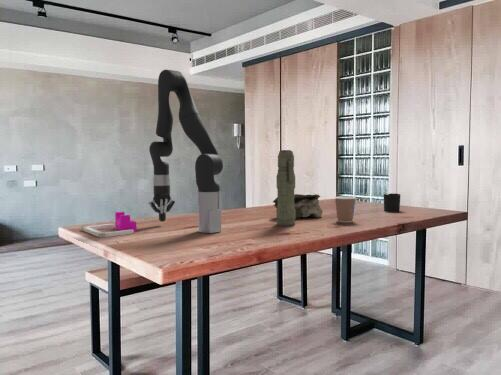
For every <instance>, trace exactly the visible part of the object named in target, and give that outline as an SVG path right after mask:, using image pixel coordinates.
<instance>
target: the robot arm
mask: <svg viewBox="0 0 501 375" xmlns="http://www.w3.org/2000/svg"><path fill="white" fill-rule="evenodd" d="M171 92H172V93H175V95H176V97H177V99H178V100H177V101H178V102H179V110H178V122H179V123H180V125H181V128H182V130H183V132H184V133H185V135H186V136H187V138H188V139H189V140H190V141H191V142H192V143H193V144H194V145H195V146H196V147H197V149H198V150H199V152H200V154H199V155H198V156H197V158H196V160H195V166H194V170H195V172H194V173H195V183H196V187H197V189H198V190H197V193H198V194H197V196H198V198H197V200H198V201H197V203H198V206H197V207H198V208H197V209H198V213H197V214H198V215H197V216H198V233H199V232H200V233H204V234H206V233H207V234H214V233H220V232H222V210H221V190H220V189H221V187H220V184H218V183H217V182H216V181H215V176H217V175H219V174H221V173H222V171H223V168H224V163H223V159H222V157H221V155H220V154H219V152H218V150H217V148H216V147H215V144H214V143H213V142H212V139H211V137H210V135H209V133H208V130H207V128H206V126H205V123H204V122H203V119H202V116H201V115H200V112H199V111H198V108H197V106H196V103H195V101H194V99H193V96H192V93H191V91H190V87H189V84H188V81H187V80H186V77H185V75H184V73H182V72H181V71H179V70H172V69H163V70H162V71H160V73H159V75H158V79H157V100H158V102H157V103H158V105H157V107H158V110H157V121H156V129H155V134H156V136H157V137H160V138H162V139H163V140H162V141H157V140H155V141H152V142H151V143H150V146H149V148H148V149H149V154H150V157H151V161H152V165H153V180H152V181H153V182H152V183H153V198H152V200H151V201H149V202H148V205H149V206H150V207H151V208H152V210H153V212H154V213H157V214H158V221H160V222H161V223H163V222H165V221H166V219H167V216H166V213H168V212H170V211H171V209H172V208H173V206H174V205H175V204H176V201H175V200H173V199H172V197H171V178H170V165H169V163H168V162H166V161H163V160H162V157H164V158H165V157H166V158H168V157H170V156H171V155H172V153H173V149H174V148H173V141H172V139H173V138H172V132H173V126H174V125H173V124H174V116H173V112H172V109H171V106H170V95H171V94H170V93H171Z"/></svg>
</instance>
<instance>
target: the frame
mask: <svg viewBox="0 0 501 375" xmlns="http://www.w3.org/2000/svg"><path fill="white" fill-rule="evenodd" d="M113 228H116V225H115V223H106V224H99V225H87V226H81V231H82V232H85V233H88V234H90V235H93V236H96V237H97V238H101V239H102V238H108V237H110V238H111V237H115V236H117V237H118V236H125V235H134V234H135V232H134V230H132V229H131V230H123V231H118V230H115V231H108V232H103V231H100V230H102V229H103V230H105V229H113Z"/></svg>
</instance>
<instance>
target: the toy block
mask: <svg viewBox="0 0 501 375" xmlns="http://www.w3.org/2000/svg"><path fill="white" fill-rule="evenodd" d="M114 216H115V218H114V219H115V223H114V224H115V229H116V231H123V230H131V229H132V230H134V233H137V221H135V220H131V215H130V214H125V211H115V212H114Z"/></svg>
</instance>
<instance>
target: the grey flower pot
mask: <svg viewBox="0 0 501 375" xmlns="http://www.w3.org/2000/svg"><path fill="white" fill-rule="evenodd" d="M334 198H335V200H334V201H335V207H336V219H337V221H338V222H339V223H352V222H353V220H354V213H355V206H356V199H357V197H356V196H347V195H346V196H345V195H342V196H341V195H340V196H334Z"/></svg>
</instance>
